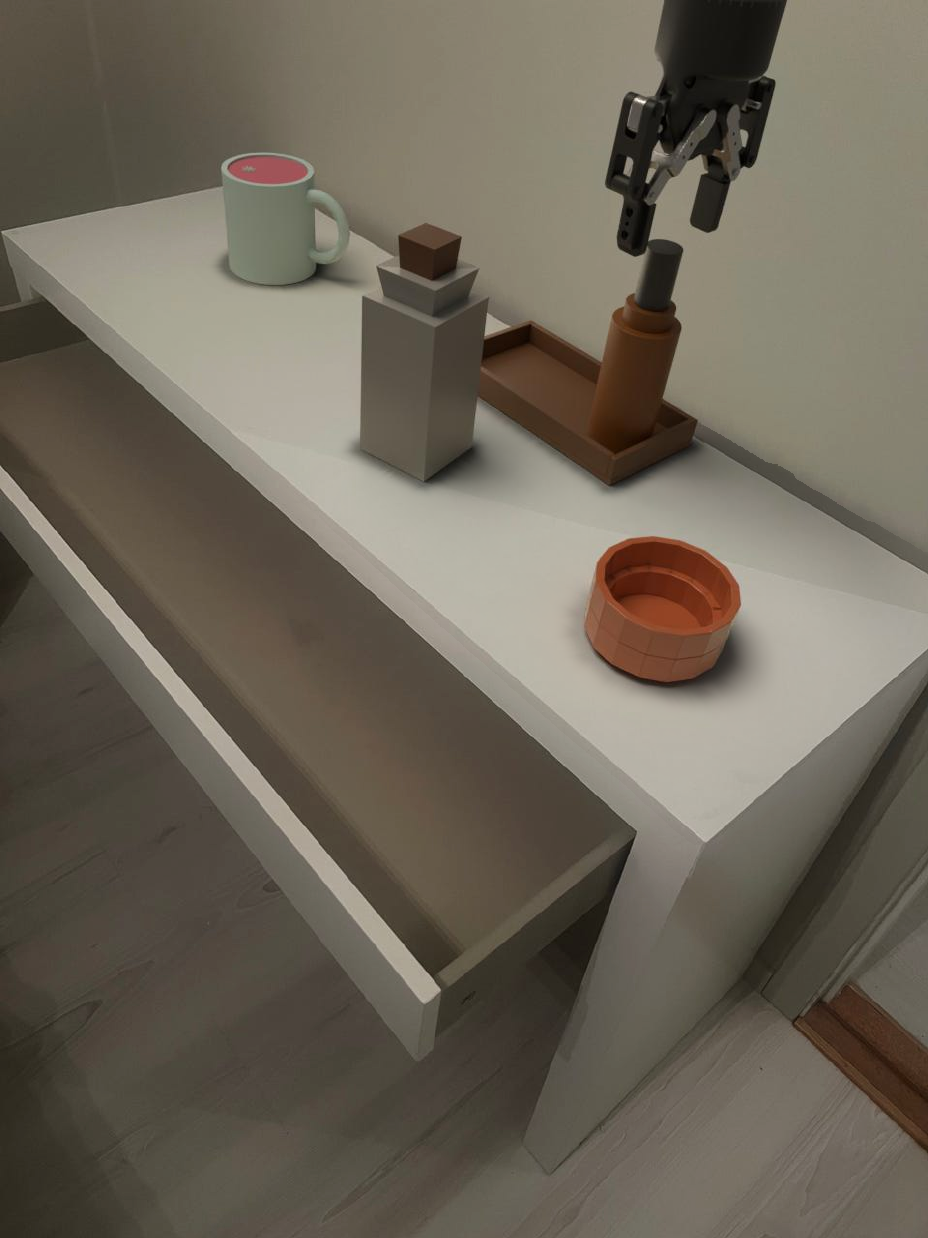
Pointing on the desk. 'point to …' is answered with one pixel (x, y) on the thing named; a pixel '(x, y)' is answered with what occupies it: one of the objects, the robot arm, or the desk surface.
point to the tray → (567, 400)
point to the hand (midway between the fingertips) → (667, 239)
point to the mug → (275, 218)
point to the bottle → (638, 354)
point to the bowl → (661, 608)
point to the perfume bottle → (421, 354)
